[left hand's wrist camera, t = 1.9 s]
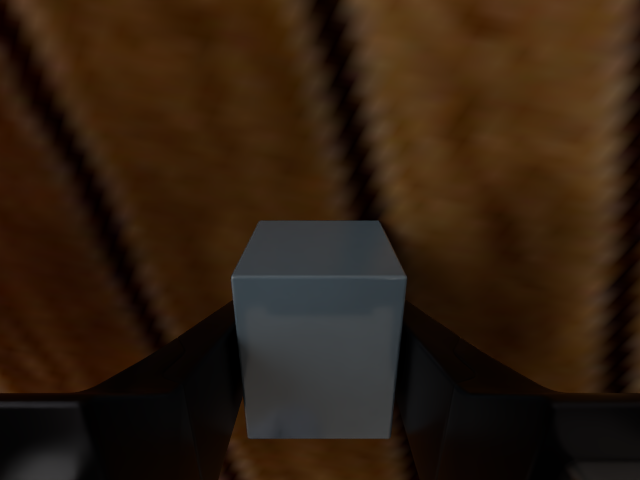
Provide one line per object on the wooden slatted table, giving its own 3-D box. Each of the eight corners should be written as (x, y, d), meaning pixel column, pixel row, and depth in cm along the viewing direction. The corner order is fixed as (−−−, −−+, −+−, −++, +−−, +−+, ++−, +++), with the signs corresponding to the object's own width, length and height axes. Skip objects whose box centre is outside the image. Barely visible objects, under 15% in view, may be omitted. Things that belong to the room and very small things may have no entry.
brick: (380, 220, 12) (408, 276, 8) (371, 346, 14) (391, 440, 10) (258, 220, 12) (229, 276, 8) (267, 346, 13) (246, 440, 10)
